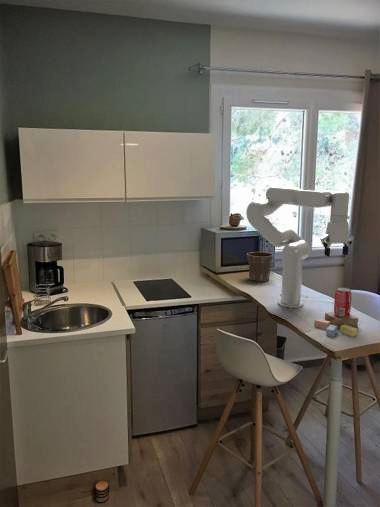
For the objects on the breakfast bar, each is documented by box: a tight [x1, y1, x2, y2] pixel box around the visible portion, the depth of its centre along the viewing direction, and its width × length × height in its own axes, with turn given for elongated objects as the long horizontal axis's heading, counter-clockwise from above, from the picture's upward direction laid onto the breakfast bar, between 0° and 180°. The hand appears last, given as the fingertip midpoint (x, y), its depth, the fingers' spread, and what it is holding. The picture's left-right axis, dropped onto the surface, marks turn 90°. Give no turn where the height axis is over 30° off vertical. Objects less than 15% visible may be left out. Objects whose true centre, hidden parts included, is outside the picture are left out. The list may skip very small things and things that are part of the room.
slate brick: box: [325, 325, 338, 338], centre depth 187 cm, size 6×3×3 cm, turn 148°
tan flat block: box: [324, 311, 359, 330], centre depth 198 cm, size 10×10×4 cm
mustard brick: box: [339, 325, 358, 337], centre depth 187 cm, size 6×3×3 cm, turn 32°
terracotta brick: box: [313, 318, 331, 330], centre depth 195 cm, size 6×3×3 cm, turn 47°
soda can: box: [333, 287, 353, 317], centre depth 197 cm, size 7×7×12 cm
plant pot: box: [246, 251, 274, 283], centre depth 275 cm, size 16×16×16 cm
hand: (336, 255), depth 208 cm, fingers open, 9 cm apart
